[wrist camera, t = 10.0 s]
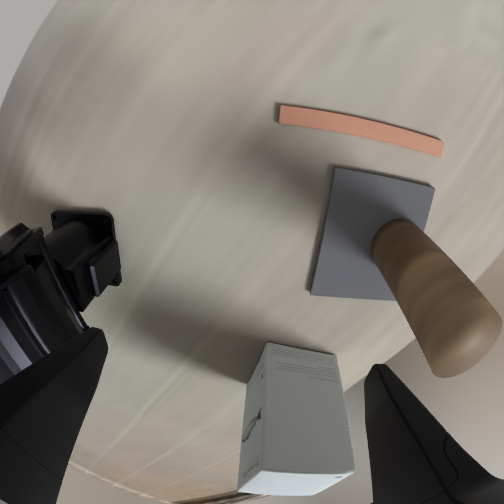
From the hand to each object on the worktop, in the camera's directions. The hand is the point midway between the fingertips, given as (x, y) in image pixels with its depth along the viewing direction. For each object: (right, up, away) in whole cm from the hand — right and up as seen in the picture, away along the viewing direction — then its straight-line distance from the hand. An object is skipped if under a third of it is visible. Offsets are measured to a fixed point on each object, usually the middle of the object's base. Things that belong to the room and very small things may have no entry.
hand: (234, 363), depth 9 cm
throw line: (+8, +11, +8) cm, 16 cm away
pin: (+11, +4, +12) cm, 17 cm away
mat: (+10, +4, +12) cm, 16 cm away
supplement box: (+4, -9, +19) cm, 21 cm away
